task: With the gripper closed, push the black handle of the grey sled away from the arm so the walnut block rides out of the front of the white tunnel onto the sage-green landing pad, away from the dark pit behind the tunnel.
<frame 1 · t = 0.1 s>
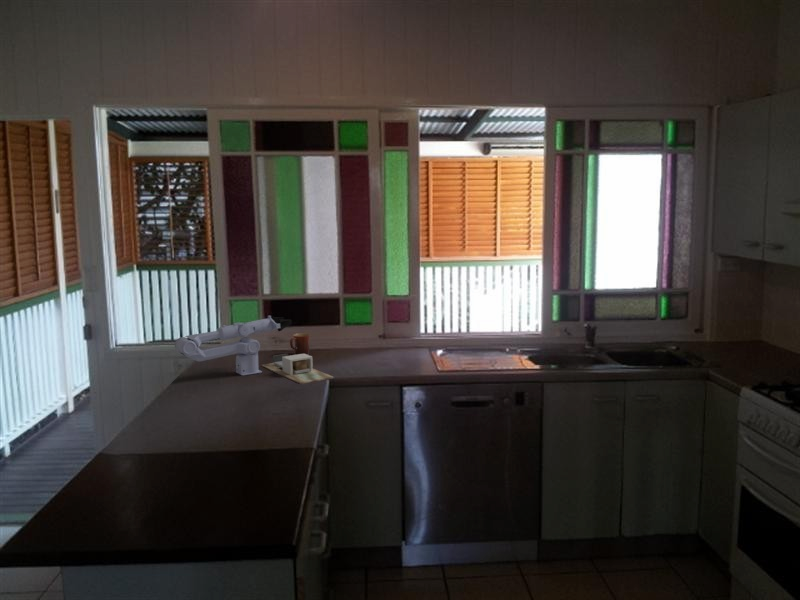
hand: (287, 320, 291), 22 cm above the countertop, tool horizontal, fingers open, 7 cm apart
sled: (291, 363, 287), point 3 cm above the countertop, slide at 0.0 cm, touching walnut block
tunnel: (297, 372, 282), resting on beige flat rectangular board
mug: (299, 355, 317), on the countertop
beige flat rectangular board: (295, 371, 284), on the countertop
walnut block: (299, 368, 281), point 2 cm above the countertop, touching sled
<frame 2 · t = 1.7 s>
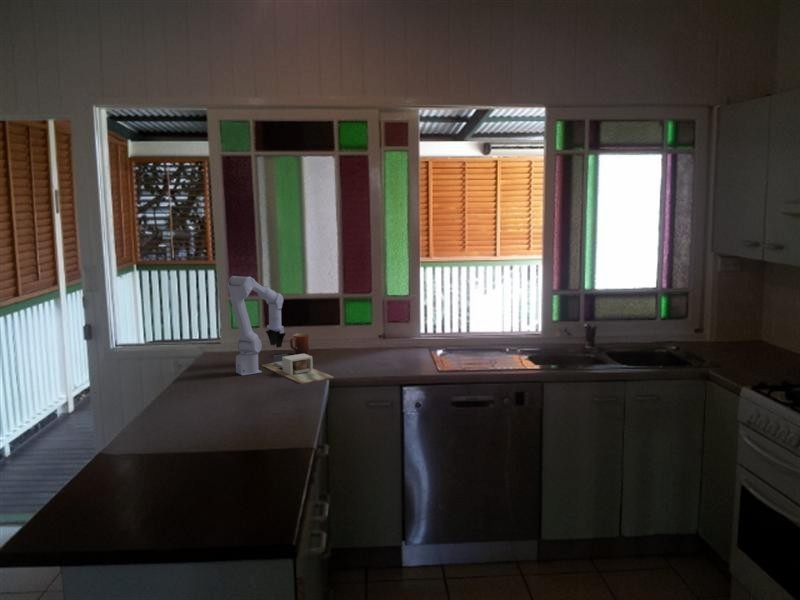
hand: (275, 346, 299), 8 cm above the countertop, tool pointing down, fingers open, 6 cm apart
nothing on the countertop moved.
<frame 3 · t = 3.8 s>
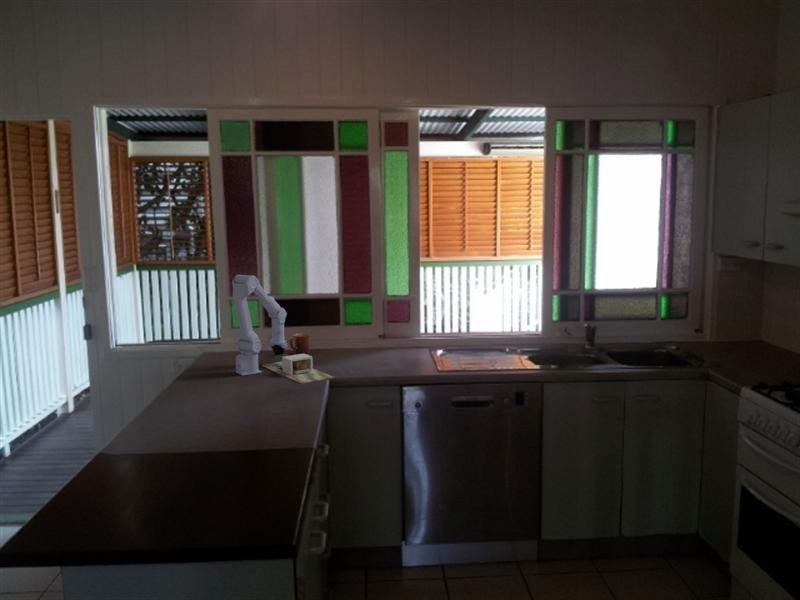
hand: (278, 360, 297), 2 cm above the countertop, tool pointing down, fingers closed
sled: (291, 363, 287), point 3 cm above the countertop, slide at 0.4 cm, touching gripper, walnut block
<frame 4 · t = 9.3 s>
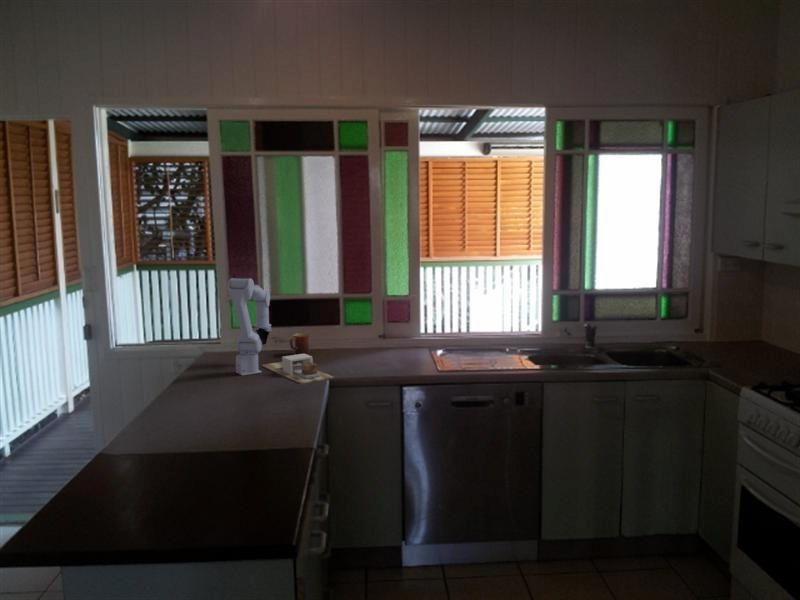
hand: (263, 344, 298), 9 cm above the countertop, tool pointing down, fingers closed
sled: (301, 367, 279), point 3 cm above the countertop, slide at 9.9 cm, touching walnut block
walnut block: (309, 373, 273), point 2 cm above the countertop, touching sled
everything else where it was.
at the end: walnut block inside the target area (0.1 cm from its centre), point 2.0 cm above the countertop; walnut block tilted 0°; sled slide at 9.9 cm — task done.
